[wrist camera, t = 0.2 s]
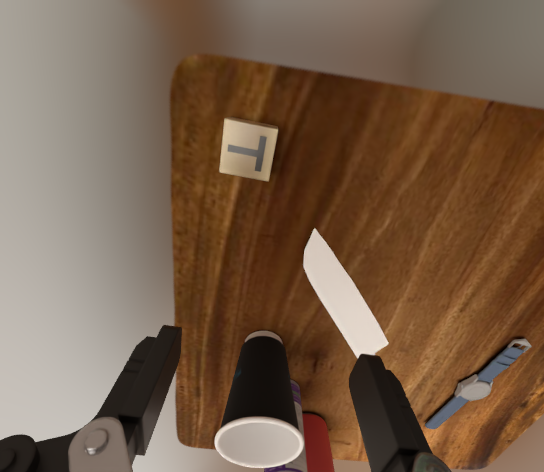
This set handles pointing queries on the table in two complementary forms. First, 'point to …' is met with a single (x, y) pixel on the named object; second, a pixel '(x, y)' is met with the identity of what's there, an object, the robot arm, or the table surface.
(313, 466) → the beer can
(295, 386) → the container
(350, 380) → the robot arm
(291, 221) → the table surface
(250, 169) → the letter tile
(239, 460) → the dixie cup
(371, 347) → the knife
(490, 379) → the wristwatch
